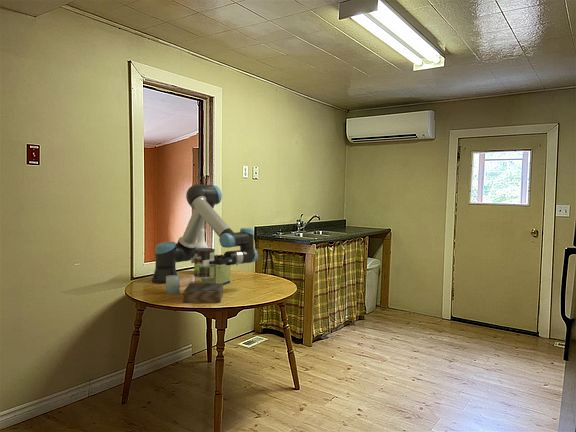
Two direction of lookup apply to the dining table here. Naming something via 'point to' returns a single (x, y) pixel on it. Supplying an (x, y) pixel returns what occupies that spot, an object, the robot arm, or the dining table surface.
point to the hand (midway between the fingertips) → (197, 261)
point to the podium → (203, 293)
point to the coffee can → (199, 269)
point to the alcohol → (201, 240)
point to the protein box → (219, 275)
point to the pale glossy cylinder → (172, 284)
